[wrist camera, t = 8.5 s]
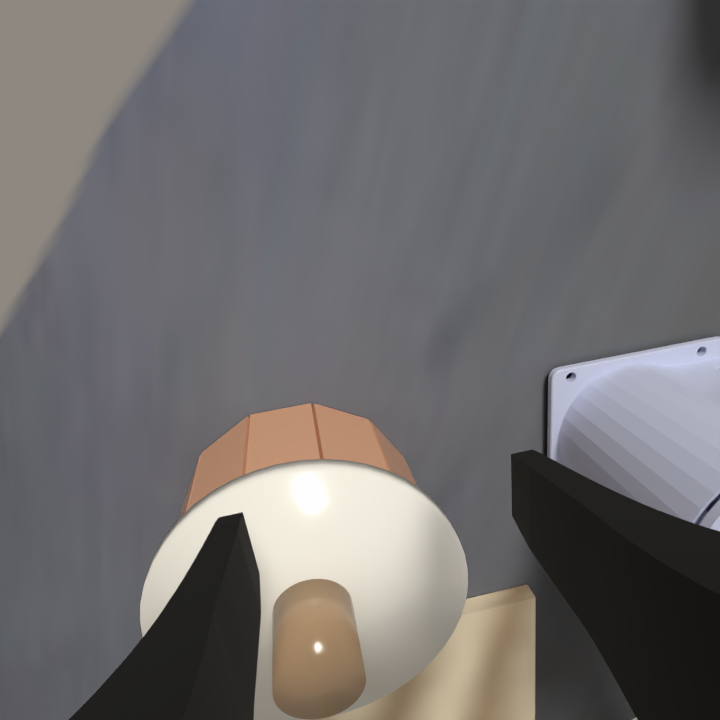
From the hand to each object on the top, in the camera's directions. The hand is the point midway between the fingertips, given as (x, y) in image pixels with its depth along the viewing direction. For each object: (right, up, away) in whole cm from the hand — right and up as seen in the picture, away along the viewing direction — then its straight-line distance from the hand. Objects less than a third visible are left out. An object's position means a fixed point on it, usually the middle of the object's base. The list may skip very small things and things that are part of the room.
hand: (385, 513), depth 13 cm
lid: (-3, -6, +8) cm, 10 cm away
